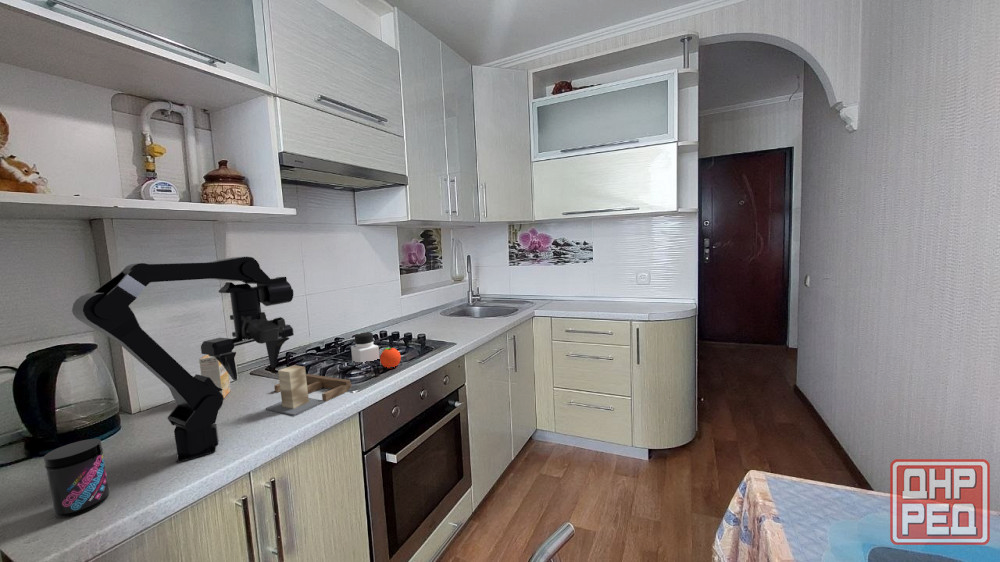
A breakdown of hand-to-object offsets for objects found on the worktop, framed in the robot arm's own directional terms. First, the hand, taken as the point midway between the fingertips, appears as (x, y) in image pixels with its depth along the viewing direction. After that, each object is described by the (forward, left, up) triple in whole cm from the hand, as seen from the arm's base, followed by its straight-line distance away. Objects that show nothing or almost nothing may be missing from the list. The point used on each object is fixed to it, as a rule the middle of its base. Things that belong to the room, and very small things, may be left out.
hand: (255, 373), depth 94 cm
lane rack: (+14, +17, -13) cm, 25 cm away
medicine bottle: (+33, +30, -13) cm, 46 cm away
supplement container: (-27, -16, -13) cm, 34 cm away
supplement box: (-10, +32, -13) cm, 36 cm away
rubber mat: (+8, +8, -13) cm, 17 cm away
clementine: (+39, +22, -13) cm, 47 cm away
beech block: (+8, +7, -13) cm, 17 cm away
